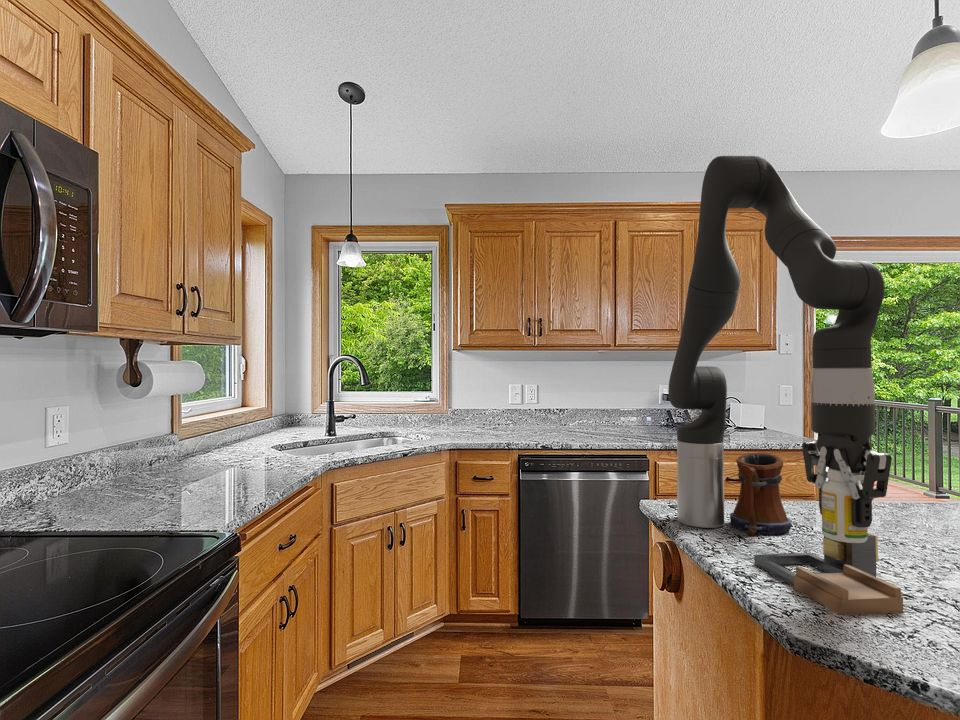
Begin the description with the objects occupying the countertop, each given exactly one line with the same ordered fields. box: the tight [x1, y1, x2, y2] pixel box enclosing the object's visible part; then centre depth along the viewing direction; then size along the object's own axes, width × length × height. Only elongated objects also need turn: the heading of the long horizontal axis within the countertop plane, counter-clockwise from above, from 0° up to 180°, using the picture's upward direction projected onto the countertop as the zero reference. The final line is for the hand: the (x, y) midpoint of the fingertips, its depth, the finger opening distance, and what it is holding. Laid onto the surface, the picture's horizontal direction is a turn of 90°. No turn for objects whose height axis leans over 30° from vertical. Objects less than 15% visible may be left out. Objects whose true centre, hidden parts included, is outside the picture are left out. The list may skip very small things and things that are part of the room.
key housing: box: [823, 532, 877, 577], centre depth 88 cm, size 6×4×6 cm, turn 6°
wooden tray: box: [793, 565, 904, 617], centre depth 77 cm, size 9×9×3 cm
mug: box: [729, 452, 792, 537], centre depth 111 cm, size 18×12×15 cm, turn 141°
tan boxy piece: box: [822, 532, 879, 563], centre depth 88 cm, size 5×6×4 cm
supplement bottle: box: [821, 467, 869, 543], centre depth 77 cm, size 5×5×10 cm
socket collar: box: [753, 552, 843, 587], centre depth 87 cm, size 10×10×2 cm
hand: (844, 520), depth 77 cm, fingers closed on supplement bottle, 5 cm apart
